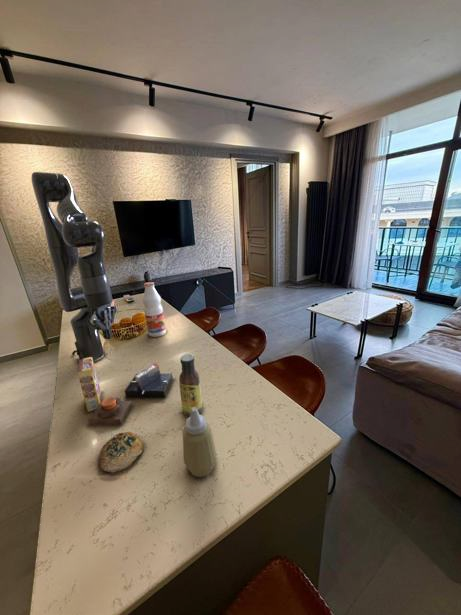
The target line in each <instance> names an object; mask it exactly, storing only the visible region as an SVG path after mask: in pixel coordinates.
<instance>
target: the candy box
mask: <svg viewBox="0 0 461 615" xmlns="http://www.w3.org/2000/svg"><path fill="white" fill-rule="evenodd" d="M76 372H77V377H78V380H79V384H80V389H81V391H82V395H83V399H84V402H85V406H86V411H87V412H94V411H95V410H96V409H97V407H98V406H99V405H100V403H101V402H102V392H101V388H100V383H99V379H98V375H97V371H96V367H95V364H94V362H93V359H92V357H89V358H85V359H81V360H80V359H79V360H78V367H77V371H76Z"/></svg>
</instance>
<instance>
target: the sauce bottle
mask: <svg viewBox="0 0 461 615" xmlns="http://www.w3.org/2000/svg"><path fill="white" fill-rule="evenodd" d="M180 365H181V372H180V374H179V379H178V380H179V381H178V382H179V392H180V393H179V394H180V401H181V408H182V412H183V414H184V415H185V416H187V417H191V409H192V408H193V407H196V408H197V411H198V413H199V414H201V412H202V409H203V407H202V405H203V402H202V401H203V400H202V391H201V380H200V374H199V372H198V371H197V369H196V367H195V356H194V355H193V354H191V353H187V354H183V355H181V357H180Z"/></svg>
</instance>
